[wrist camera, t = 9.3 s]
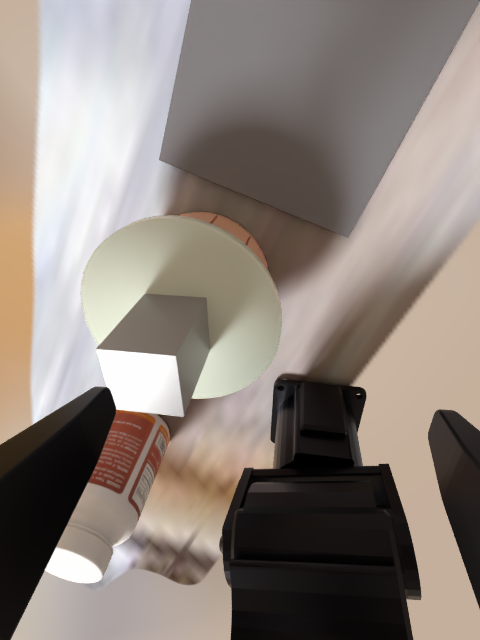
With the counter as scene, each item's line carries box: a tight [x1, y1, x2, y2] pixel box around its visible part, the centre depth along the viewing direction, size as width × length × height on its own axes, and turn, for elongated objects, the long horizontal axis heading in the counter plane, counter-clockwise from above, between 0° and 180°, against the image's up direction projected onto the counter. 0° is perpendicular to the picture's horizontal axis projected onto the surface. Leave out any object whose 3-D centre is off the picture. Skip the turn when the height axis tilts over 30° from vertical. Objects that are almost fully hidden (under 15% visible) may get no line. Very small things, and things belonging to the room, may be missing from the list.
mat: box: [159, 0, 480, 237], centre depth 16 cm, size 11×11×1 cm
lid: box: [81, 215, 282, 417], centre depth 15 cm, size 10×10×5 cm
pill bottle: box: [45, 409, 170, 583], centre depth 26 cm, size 6×6×11 cm
